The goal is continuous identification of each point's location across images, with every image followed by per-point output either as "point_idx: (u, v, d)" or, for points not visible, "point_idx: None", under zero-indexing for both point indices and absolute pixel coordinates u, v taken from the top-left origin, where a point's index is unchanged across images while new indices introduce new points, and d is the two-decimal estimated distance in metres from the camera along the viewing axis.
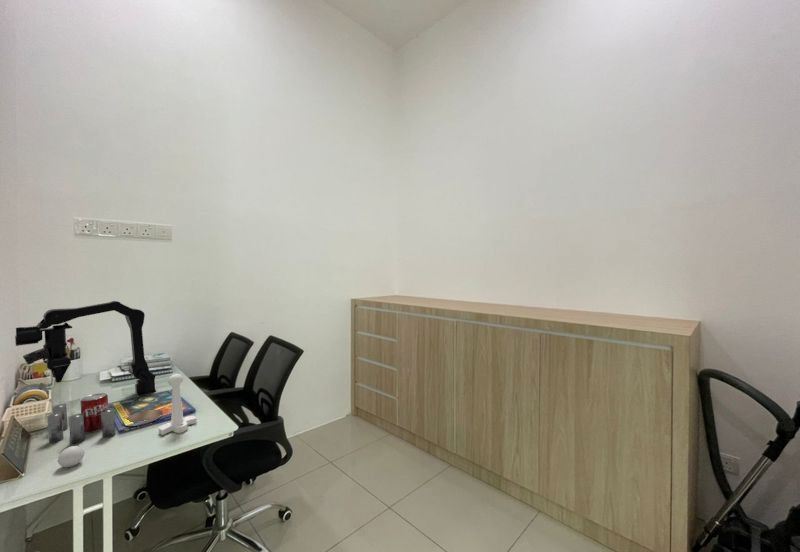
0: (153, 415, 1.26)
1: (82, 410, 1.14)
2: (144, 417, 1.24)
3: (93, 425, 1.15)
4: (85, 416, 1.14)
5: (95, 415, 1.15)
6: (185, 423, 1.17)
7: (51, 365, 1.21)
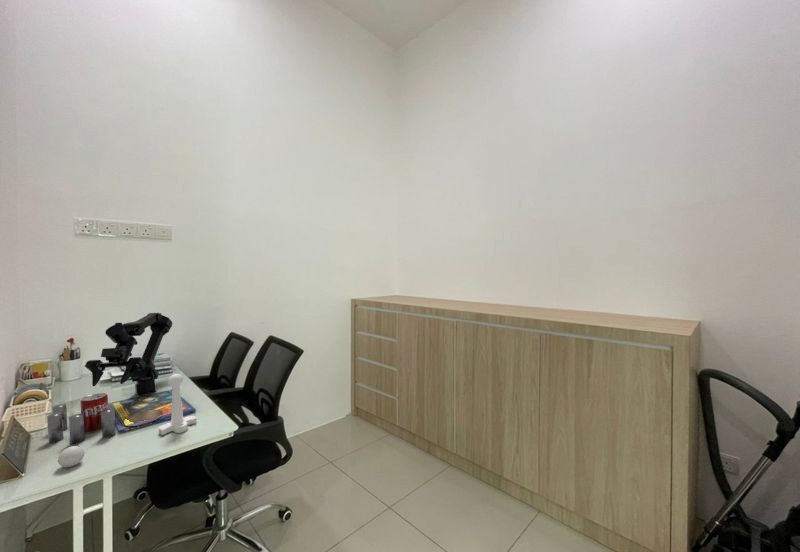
0: (153, 415, 1.26)
1: (82, 410, 1.14)
2: (144, 417, 1.24)
3: (93, 425, 1.15)
4: (85, 416, 1.14)
5: (95, 415, 1.15)
6: (185, 423, 1.17)
7: (140, 361, 1.31)
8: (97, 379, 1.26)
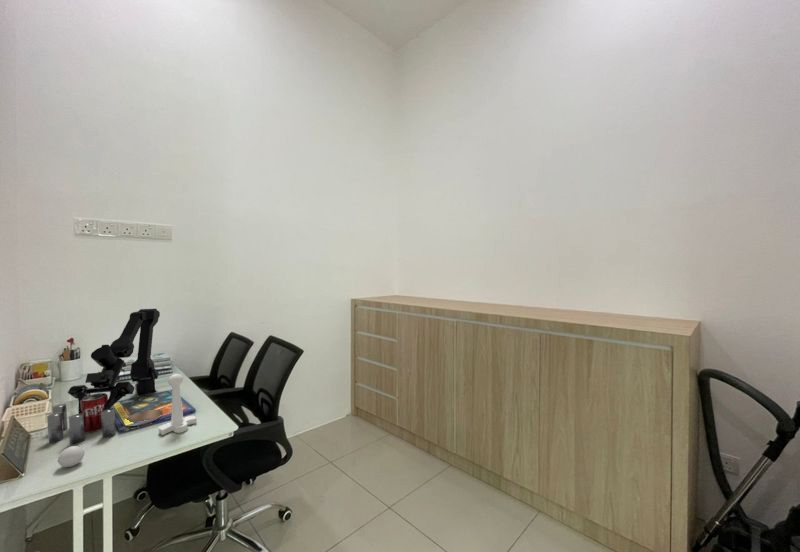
0: (153, 415, 1.26)
1: (82, 410, 1.14)
2: (144, 417, 1.24)
3: (93, 425, 1.15)
4: (85, 416, 1.14)
5: (95, 415, 1.15)
6: (185, 423, 1.17)
7: (128, 386, 1.22)
8: None
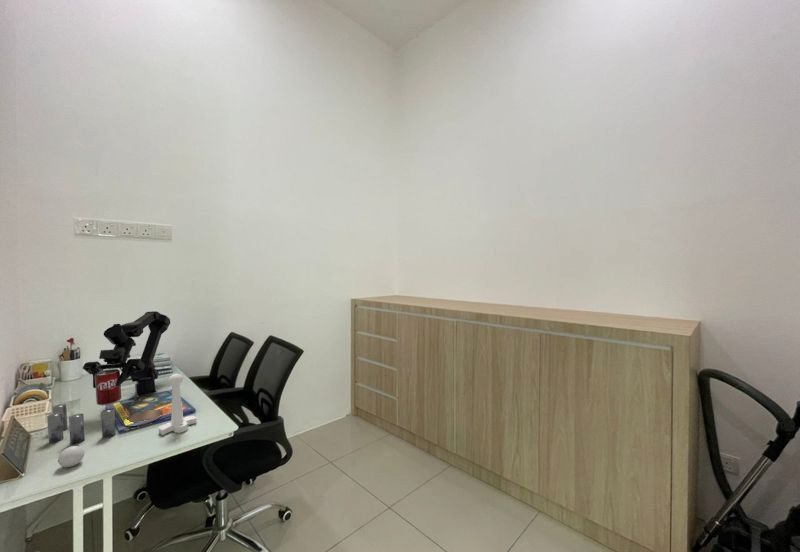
0: (153, 415, 1.26)
1: (96, 384, 1.22)
2: (144, 417, 1.24)
3: (107, 398, 1.23)
4: (99, 389, 1.22)
5: (109, 389, 1.23)
6: (185, 423, 1.17)
7: (139, 363, 1.30)
8: None
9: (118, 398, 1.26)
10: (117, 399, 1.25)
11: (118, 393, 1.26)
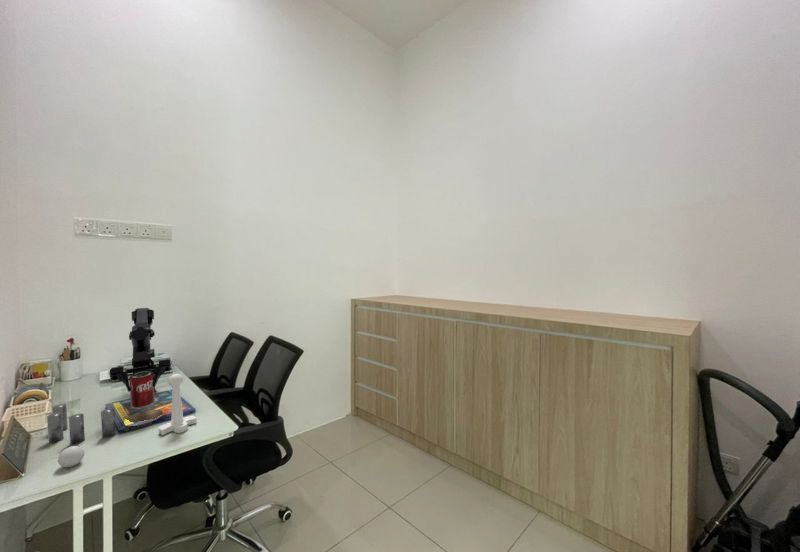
0: (153, 415, 1.26)
1: (135, 386, 1.21)
2: (144, 417, 1.24)
3: (146, 399, 1.23)
4: (139, 392, 1.21)
5: (148, 390, 1.23)
6: (185, 423, 1.17)
7: (170, 362, 1.32)
8: None
9: (154, 399, 1.26)
10: (153, 400, 1.26)
11: None
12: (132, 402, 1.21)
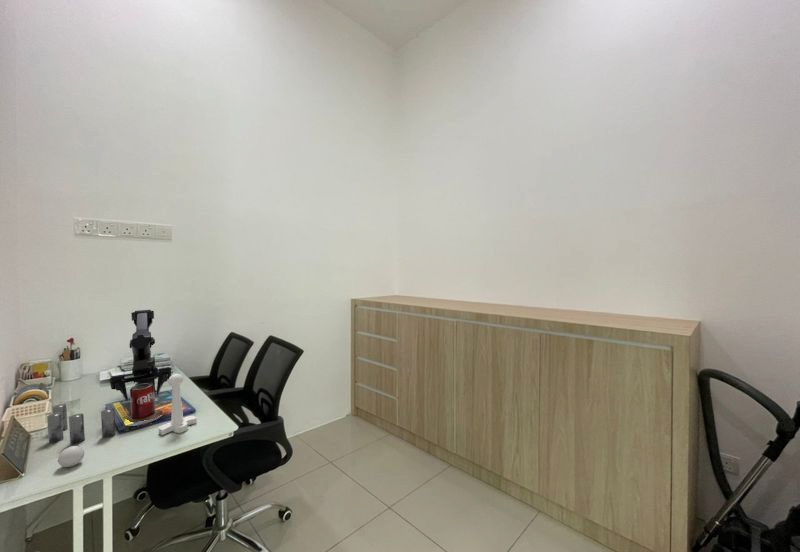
0: (153, 415, 1.26)
1: (135, 399, 1.21)
2: None
3: (147, 411, 1.23)
4: (139, 404, 1.21)
5: (148, 402, 1.23)
6: (185, 423, 1.17)
7: None
8: None
9: (154, 411, 1.26)
10: (154, 412, 1.26)
11: (154, 405, 1.26)
12: (133, 414, 1.21)
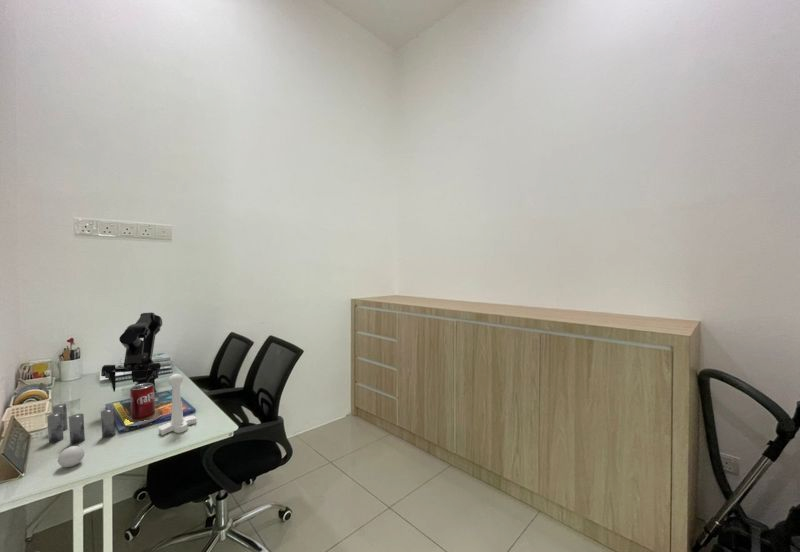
0: (153, 415, 1.26)
1: (135, 399, 1.21)
2: None
3: (147, 411, 1.23)
4: (139, 404, 1.21)
5: (148, 402, 1.23)
6: (185, 423, 1.17)
7: None
8: None
9: (154, 411, 1.26)
10: (154, 412, 1.26)
11: (154, 405, 1.26)
12: (133, 414, 1.21)
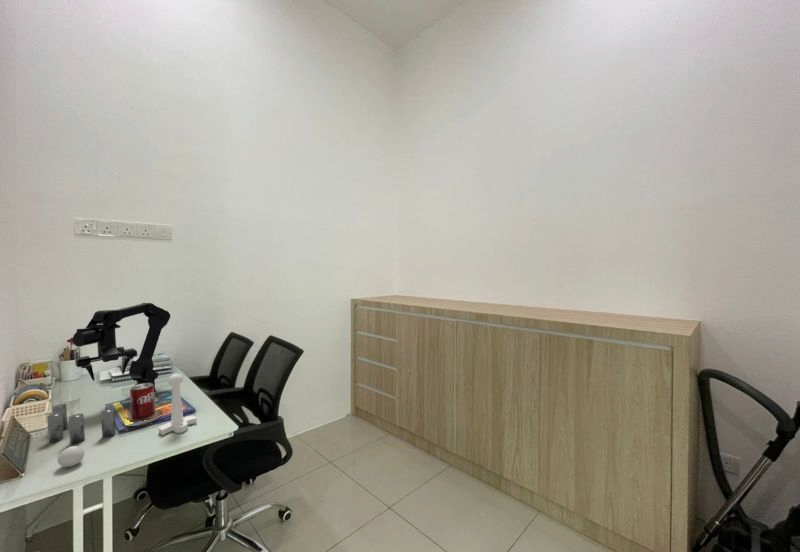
0: (153, 415, 1.26)
1: (135, 399, 1.21)
2: None
3: (147, 411, 1.23)
4: (139, 404, 1.21)
5: (148, 402, 1.23)
6: (185, 423, 1.17)
7: None
8: None
9: (154, 411, 1.26)
10: (154, 412, 1.26)
11: (154, 405, 1.26)
12: (133, 414, 1.21)
